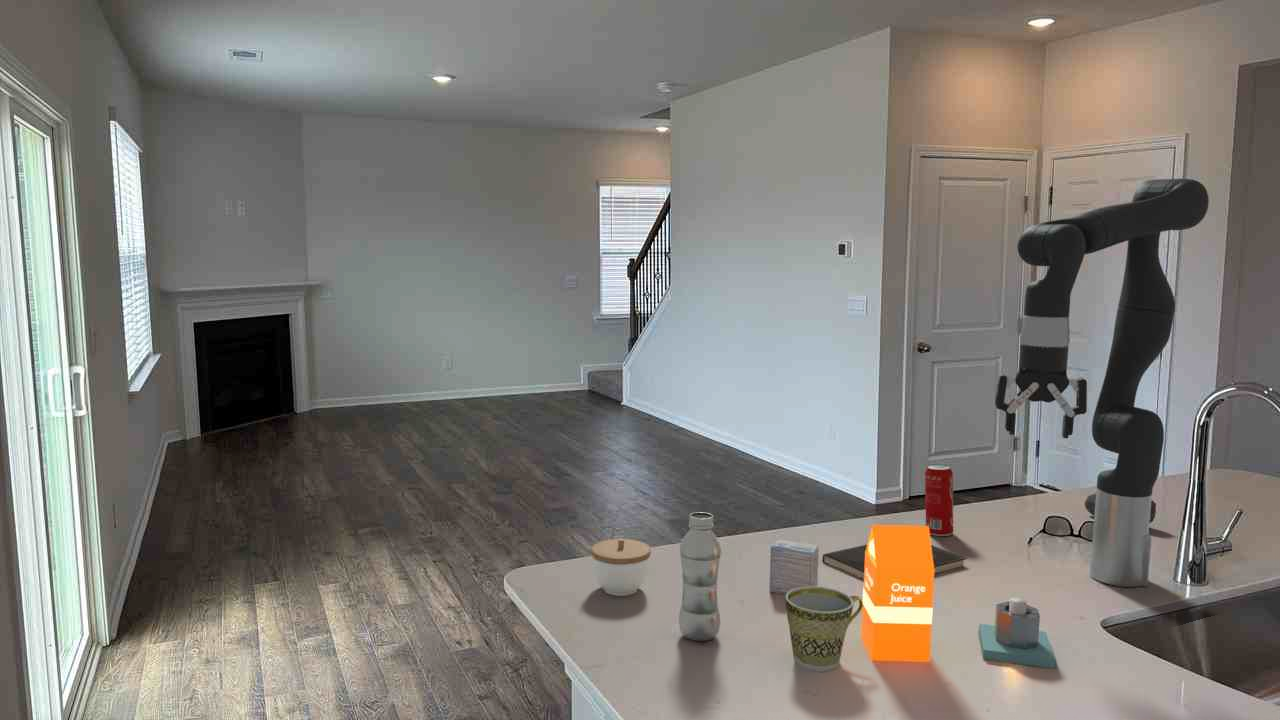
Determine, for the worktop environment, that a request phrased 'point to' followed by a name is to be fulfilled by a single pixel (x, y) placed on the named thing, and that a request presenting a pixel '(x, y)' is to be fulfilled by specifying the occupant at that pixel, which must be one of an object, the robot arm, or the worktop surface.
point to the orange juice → (898, 593)
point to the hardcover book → (855, 559)
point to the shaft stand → (1000, 652)
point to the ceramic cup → (819, 625)
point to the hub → (1017, 627)
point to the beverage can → (939, 499)
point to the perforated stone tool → (1092, 499)
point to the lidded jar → (620, 565)
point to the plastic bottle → (700, 579)
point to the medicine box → (793, 566)
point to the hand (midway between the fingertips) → (1037, 435)
